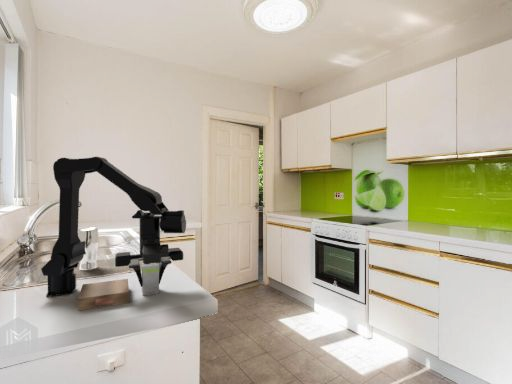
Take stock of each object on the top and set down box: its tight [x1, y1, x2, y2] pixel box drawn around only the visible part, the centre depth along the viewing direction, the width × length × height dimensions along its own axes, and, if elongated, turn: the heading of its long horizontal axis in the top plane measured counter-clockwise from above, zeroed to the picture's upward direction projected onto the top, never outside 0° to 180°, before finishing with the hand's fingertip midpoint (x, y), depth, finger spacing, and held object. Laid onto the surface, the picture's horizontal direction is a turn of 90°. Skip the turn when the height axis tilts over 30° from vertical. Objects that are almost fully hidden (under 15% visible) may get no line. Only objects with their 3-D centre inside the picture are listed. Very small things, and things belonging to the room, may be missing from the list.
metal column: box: [140, 263, 160, 296], centre depth 87 cm, size 4×4×8 cm
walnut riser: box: [77, 278, 130, 311], centre depth 82 cm, size 12×12×3 cm
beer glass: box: [78, 227, 100, 271], centre depth 111 cm, size 7×7×15 cm
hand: (150, 285), depth 87 cm, fingers closed on metal column, 4 cm apart
